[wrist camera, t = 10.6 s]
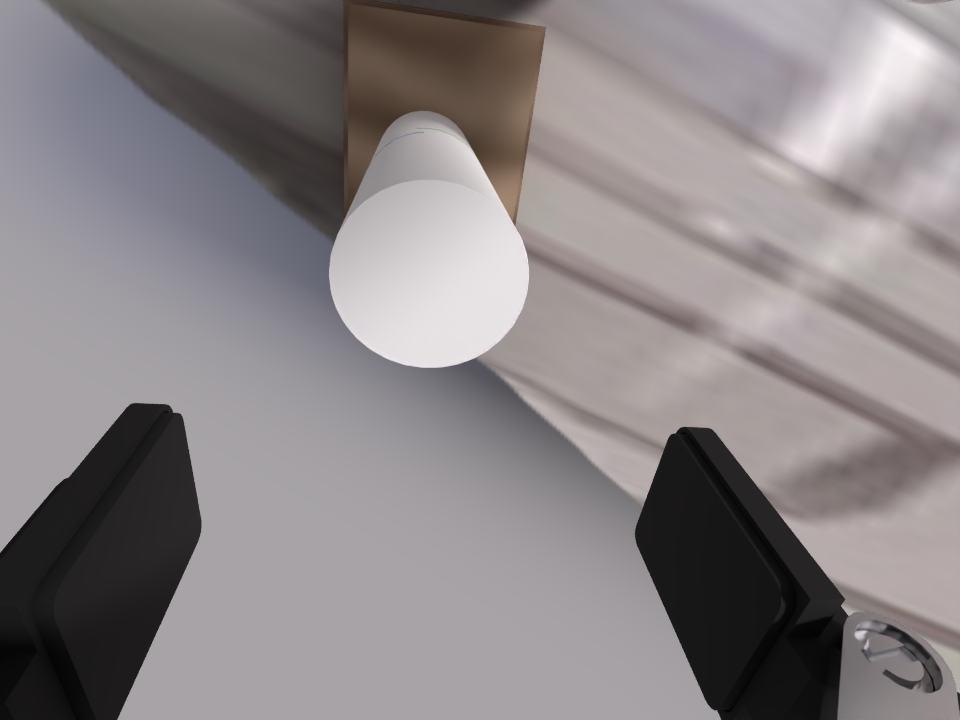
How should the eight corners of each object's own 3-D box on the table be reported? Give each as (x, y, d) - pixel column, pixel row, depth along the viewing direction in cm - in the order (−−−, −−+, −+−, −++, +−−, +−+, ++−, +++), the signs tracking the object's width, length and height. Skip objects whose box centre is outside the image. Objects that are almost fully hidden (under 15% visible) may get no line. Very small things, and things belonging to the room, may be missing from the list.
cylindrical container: (363, 125, 39) (295, 212, 18) (457, 98, 39) (505, 153, 17) (395, 219, 43) (370, 387, 21) (481, 195, 43) (545, 340, 21)
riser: (352, 2, 40) (342, -5, 35) (532, 29, 42) (548, 26, 37) (350, 214, 48) (342, 233, 43) (503, 228, 50) (513, 249, 45)
